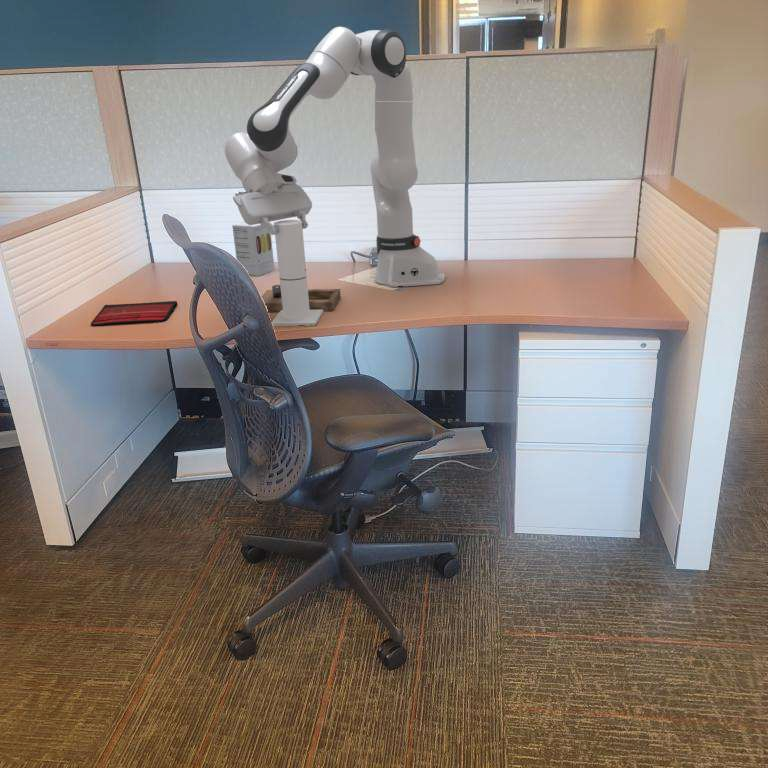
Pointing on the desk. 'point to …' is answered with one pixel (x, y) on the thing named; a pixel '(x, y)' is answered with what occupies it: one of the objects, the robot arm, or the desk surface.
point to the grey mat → (309, 321)
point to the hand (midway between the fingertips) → (290, 230)
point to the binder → (134, 313)
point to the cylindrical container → (292, 269)
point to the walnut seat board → (275, 299)
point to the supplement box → (253, 248)
